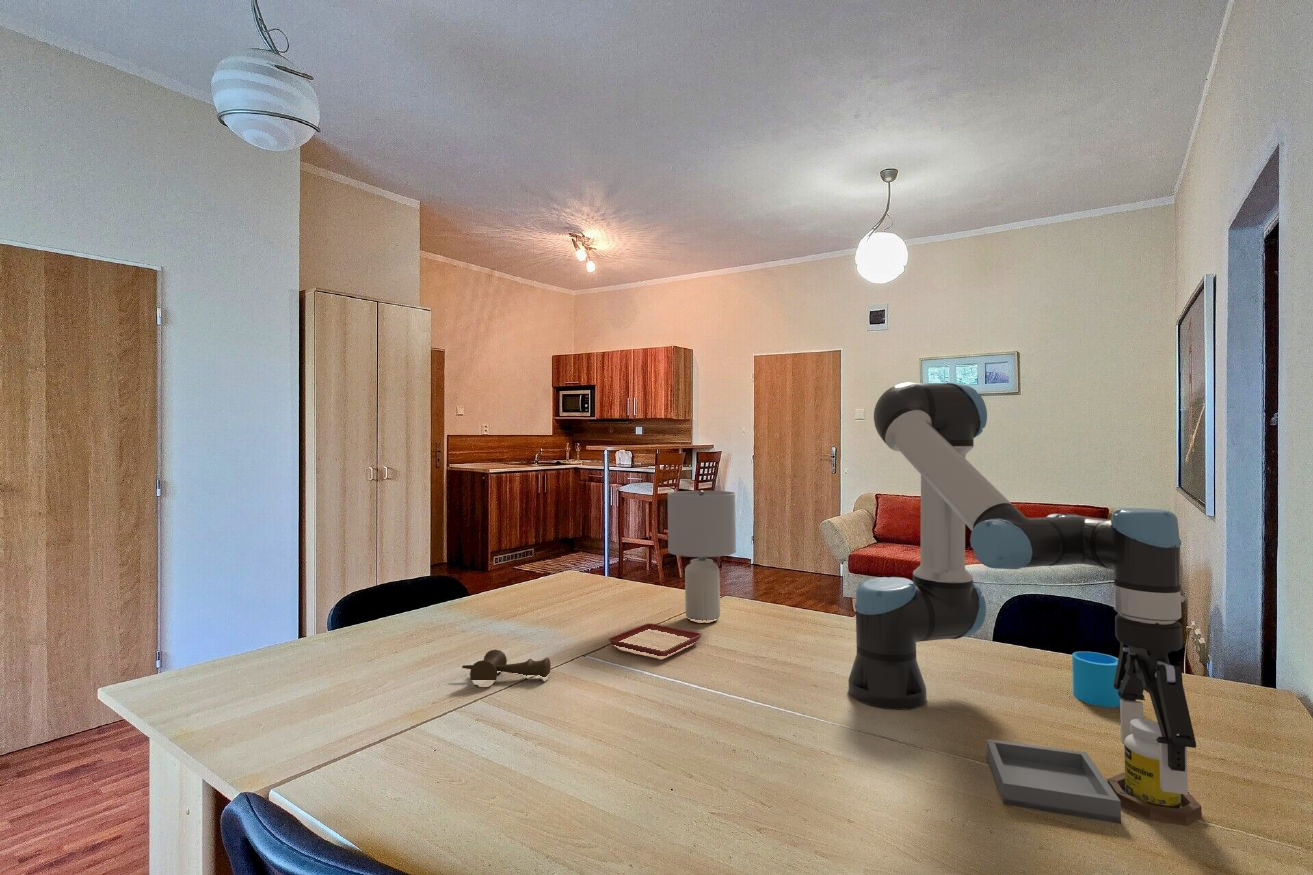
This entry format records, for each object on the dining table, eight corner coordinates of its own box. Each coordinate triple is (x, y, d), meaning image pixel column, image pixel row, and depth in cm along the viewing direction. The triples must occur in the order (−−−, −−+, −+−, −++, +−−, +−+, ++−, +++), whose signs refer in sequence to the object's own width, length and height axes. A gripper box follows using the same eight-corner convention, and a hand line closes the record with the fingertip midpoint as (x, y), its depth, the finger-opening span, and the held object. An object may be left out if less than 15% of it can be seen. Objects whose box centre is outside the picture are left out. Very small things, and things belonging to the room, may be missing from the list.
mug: (1131, 709, 118) (1129, 666, 118) (1082, 704, 120) (1081, 663, 120) (1104, 685, 129) (1103, 647, 129) (1060, 682, 131) (1059, 644, 131)
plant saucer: (648, 633, 170) (648, 622, 170) (703, 645, 160) (703, 632, 160) (606, 651, 156) (606, 638, 156) (664, 665, 145) (664, 651, 145)
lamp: (664, 628, 174) (662, 492, 175) (674, 609, 194) (672, 488, 195) (735, 630, 171) (733, 492, 171) (737, 611, 191) (736, 488, 192)
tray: (1003, 804, 87) (1003, 783, 87) (986, 757, 100) (986, 738, 100) (1121, 823, 82) (1120, 801, 82) (1086, 771, 95) (1086, 752, 95)
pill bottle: (1114, 792, 89) (1112, 716, 90) (1153, 789, 90) (1151, 714, 90) (1152, 817, 83) (1149, 736, 83) (1193, 814, 84) (1191, 734, 84)
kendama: (544, 691, 131) (453, 687, 132) (553, 675, 141) (468, 672, 142) (545, 663, 131) (454, 660, 132) (554, 649, 141) (469, 646, 142)
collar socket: (1125, 815, 84) (1125, 804, 84) (1100, 779, 93) (1100, 769, 93) (1212, 829, 80) (1212, 817, 80) (1178, 791, 89) (1177, 780, 90)
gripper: (1228, 646, 74) (1233, 821, 74) (1142, 598, 98) (1146, 731, 97) (1153, 640, 77) (1158, 810, 76) (1087, 595, 100) (1091, 724, 100)
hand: (1151, 766), depth 87 cm, fingers open, 13 cm apart
